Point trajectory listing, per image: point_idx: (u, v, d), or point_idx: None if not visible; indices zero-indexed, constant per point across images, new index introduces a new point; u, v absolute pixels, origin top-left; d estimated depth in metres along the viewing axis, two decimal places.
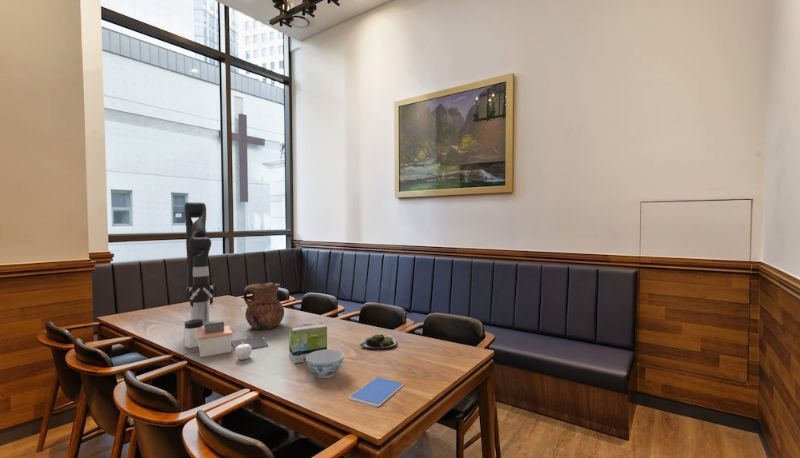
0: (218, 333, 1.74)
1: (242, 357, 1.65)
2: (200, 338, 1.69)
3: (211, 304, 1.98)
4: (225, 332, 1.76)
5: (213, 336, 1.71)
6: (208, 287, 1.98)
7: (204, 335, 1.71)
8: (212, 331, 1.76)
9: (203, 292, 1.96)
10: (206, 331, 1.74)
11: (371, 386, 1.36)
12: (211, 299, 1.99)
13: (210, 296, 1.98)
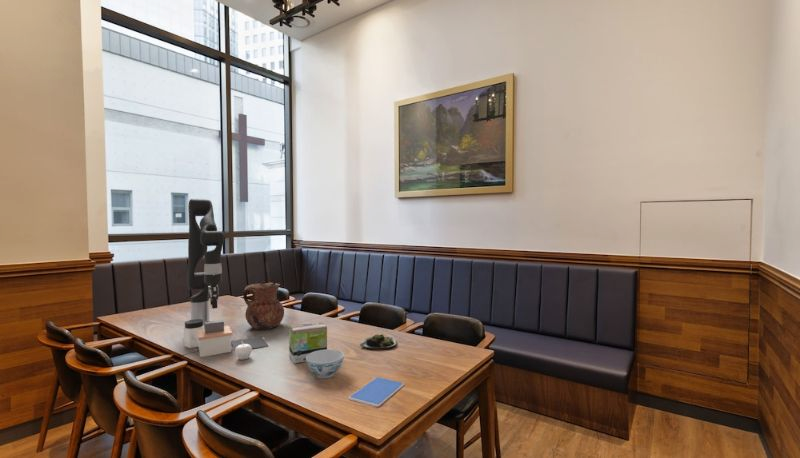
0: (218, 333, 1.74)
1: (242, 357, 1.65)
2: (200, 338, 1.69)
3: None
4: (225, 332, 1.76)
5: (213, 336, 1.71)
6: None
7: (204, 335, 1.71)
8: (212, 331, 1.76)
9: None
10: (206, 331, 1.74)
11: (371, 386, 1.36)
12: None
13: None
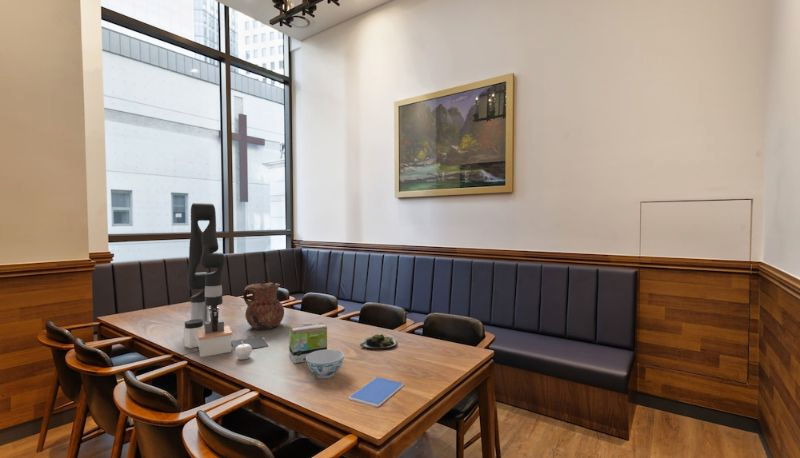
0: (218, 333, 1.74)
1: (242, 357, 1.65)
2: (200, 338, 1.69)
3: None
4: (225, 332, 1.76)
5: (213, 336, 1.71)
6: None
7: (204, 335, 1.71)
8: (212, 331, 1.76)
9: None
10: (206, 331, 1.74)
11: (371, 386, 1.36)
12: None
13: None
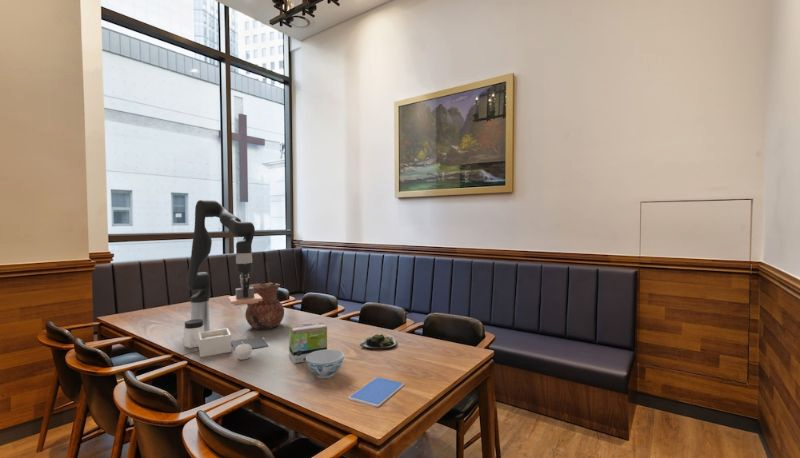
0: (249, 298, 1.81)
1: (242, 357, 1.65)
2: (232, 302, 1.75)
3: None
4: (255, 298, 1.82)
5: (244, 301, 1.78)
6: None
7: (236, 300, 1.78)
8: (243, 297, 1.82)
9: None
10: (237, 296, 1.81)
11: (371, 386, 1.37)
12: None
13: None
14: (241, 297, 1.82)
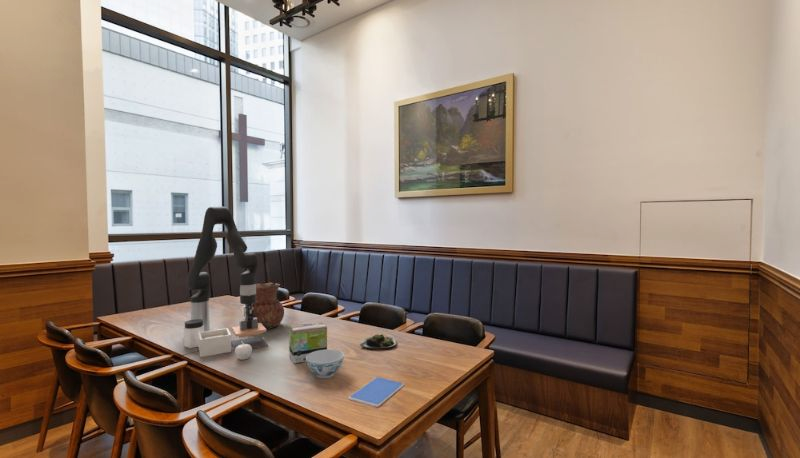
0: (253, 330, 1.82)
1: (242, 357, 1.65)
2: (237, 334, 1.77)
3: None
4: (259, 329, 1.84)
5: (249, 333, 1.80)
6: None
7: (240, 332, 1.80)
8: (247, 328, 1.84)
9: None
10: (241, 328, 1.82)
11: (371, 386, 1.37)
12: None
13: None
14: (245, 328, 1.83)
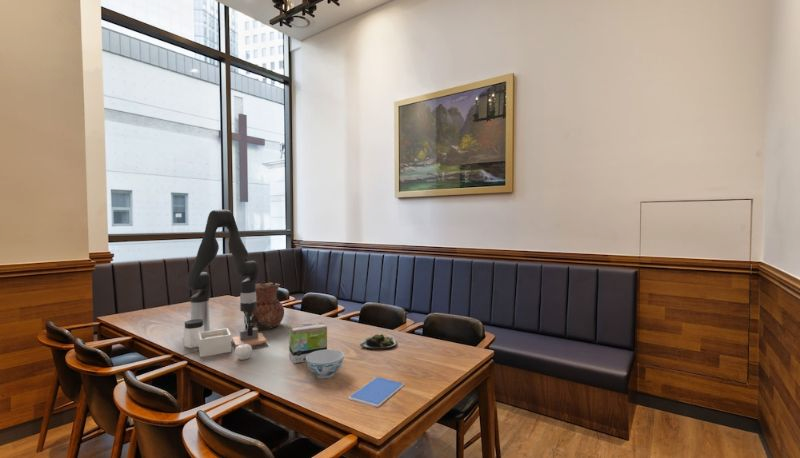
0: (253, 340, 1.82)
1: (242, 357, 1.65)
2: (237, 345, 1.77)
3: None
4: (259, 339, 1.84)
5: (249, 343, 1.80)
6: None
7: (240, 342, 1.80)
8: (247, 338, 1.84)
9: None
10: (242, 338, 1.83)
11: (371, 386, 1.37)
12: (248, 326, 1.90)
13: None
14: (245, 339, 1.83)
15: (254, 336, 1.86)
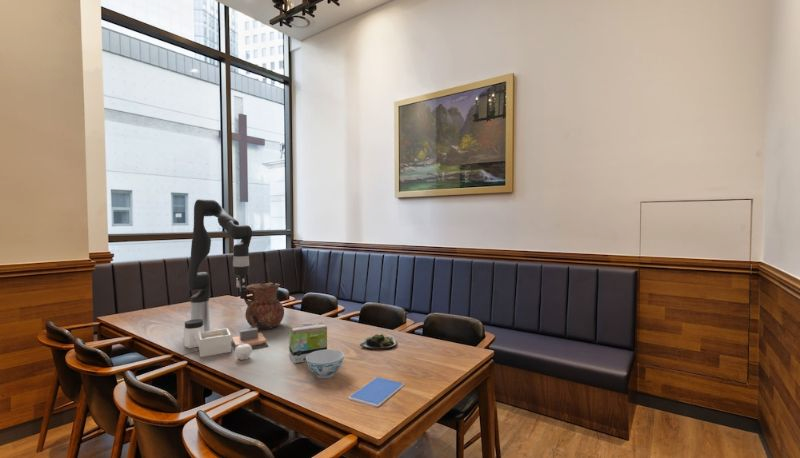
0: (253, 340, 1.82)
1: (242, 357, 1.65)
2: (237, 345, 1.77)
3: None
4: (259, 339, 1.84)
5: (249, 343, 1.80)
6: None
7: (240, 342, 1.80)
8: (247, 338, 1.84)
9: None
10: (242, 338, 1.83)
11: (371, 386, 1.37)
12: None
13: None
14: (245, 339, 1.83)
15: (254, 336, 1.86)
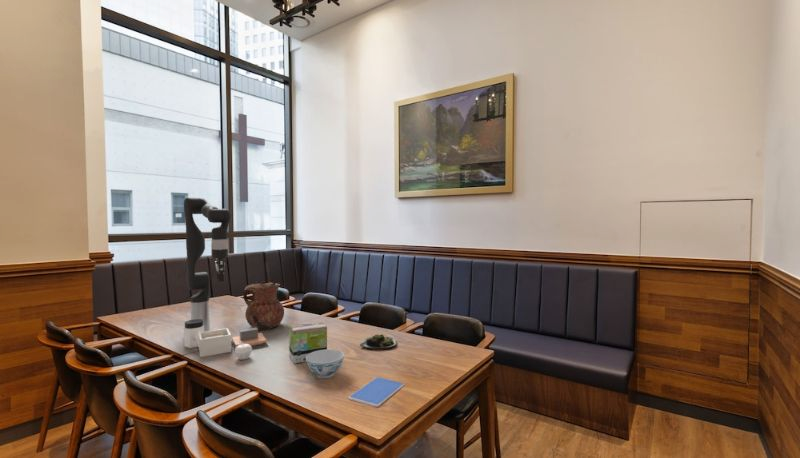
0: (253, 340, 1.82)
1: (242, 357, 1.65)
2: (237, 345, 1.77)
3: None
4: (259, 339, 1.84)
5: (249, 343, 1.80)
6: None
7: (240, 342, 1.80)
8: (247, 338, 1.84)
9: None
10: (242, 338, 1.83)
11: (371, 386, 1.37)
12: None
13: (221, 270, 1.92)
14: (245, 339, 1.83)
15: (254, 336, 1.86)
